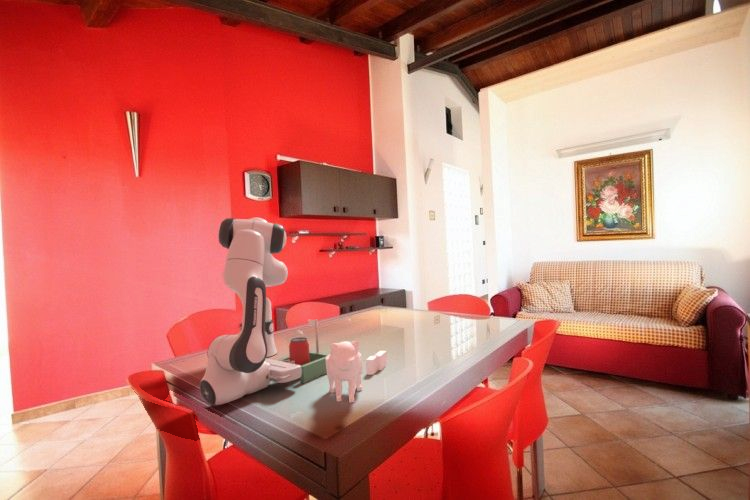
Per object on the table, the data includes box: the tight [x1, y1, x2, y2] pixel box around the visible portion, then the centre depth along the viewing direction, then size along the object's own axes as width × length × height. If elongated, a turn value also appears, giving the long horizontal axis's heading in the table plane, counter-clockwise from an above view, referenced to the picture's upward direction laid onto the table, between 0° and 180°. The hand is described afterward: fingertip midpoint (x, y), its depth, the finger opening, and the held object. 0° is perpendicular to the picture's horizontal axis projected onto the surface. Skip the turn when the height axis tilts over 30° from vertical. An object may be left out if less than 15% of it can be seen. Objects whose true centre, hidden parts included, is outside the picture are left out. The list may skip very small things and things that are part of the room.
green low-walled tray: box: [276, 319, 330, 383], centre depth 123 cm, size 14×14×17 cm
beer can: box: [288, 336, 310, 366], centre depth 121 cm, size 7×7×12 cm
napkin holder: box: [365, 350, 388, 376], centre depth 123 cm, size 15×11×6 cm
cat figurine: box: [325, 340, 365, 403], centre depth 102 cm, size 25×10×17 cm, turn 9°
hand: (292, 362), depth 118 cm, fingers closed, pressing on beer can
